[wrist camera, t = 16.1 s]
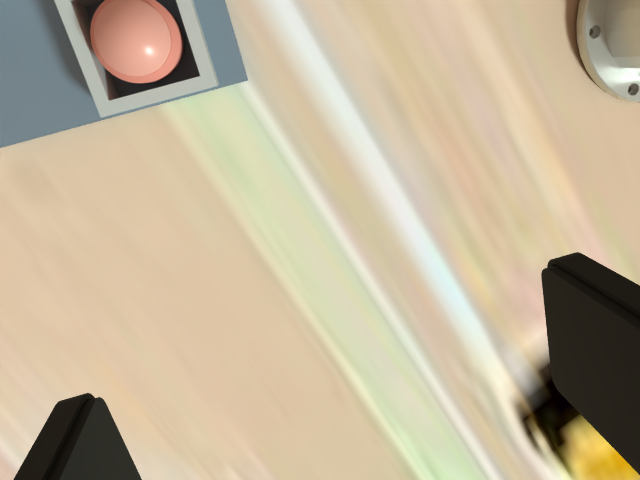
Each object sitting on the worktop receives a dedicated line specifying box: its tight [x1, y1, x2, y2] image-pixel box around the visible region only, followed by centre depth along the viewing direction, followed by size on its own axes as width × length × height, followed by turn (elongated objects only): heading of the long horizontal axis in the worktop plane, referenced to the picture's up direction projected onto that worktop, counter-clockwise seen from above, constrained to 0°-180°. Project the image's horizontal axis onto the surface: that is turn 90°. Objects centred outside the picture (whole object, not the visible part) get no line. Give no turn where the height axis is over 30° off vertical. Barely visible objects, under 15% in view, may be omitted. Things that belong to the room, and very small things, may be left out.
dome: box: [90, 0, 184, 83], centre depth 30 cm, size 5×5×4 cm
